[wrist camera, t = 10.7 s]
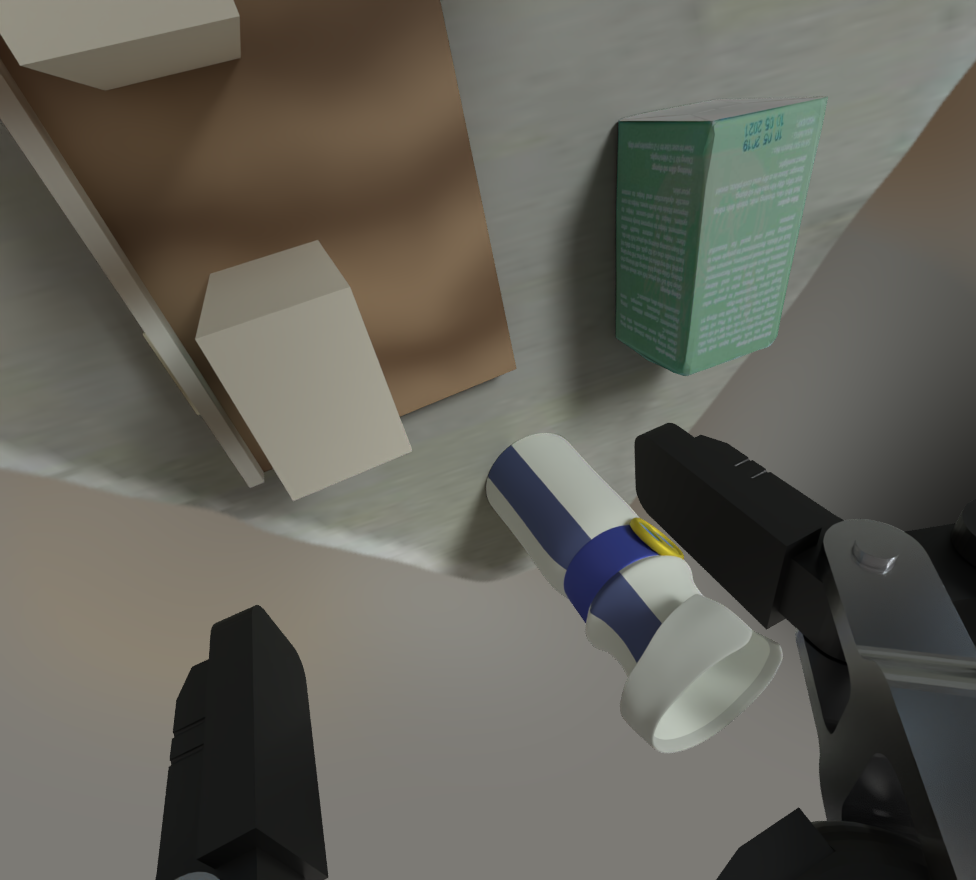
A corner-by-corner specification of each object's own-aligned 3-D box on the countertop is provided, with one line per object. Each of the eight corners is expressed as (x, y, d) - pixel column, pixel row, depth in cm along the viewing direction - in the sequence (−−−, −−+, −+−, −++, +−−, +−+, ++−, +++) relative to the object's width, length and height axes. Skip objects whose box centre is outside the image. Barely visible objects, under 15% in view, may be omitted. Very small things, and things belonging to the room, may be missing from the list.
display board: (-149, -133, 15) (-207, -173, 13) (382, -210, 19) (398, -250, 17) (245, 465, 29) (245, 489, 27) (506, 360, 33) (523, 374, 31)
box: (612, 344, 35) (687, 385, 30) (611, 119, 28) (711, 116, 22) (696, 315, 37) (782, 349, 31) (716, 97, 30) (835, 88, 24)
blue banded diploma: (524, 408, 35) (884, 761, 15) (598, 451, 40) (940, 761, 20) (458, 498, 37) (706, 920, 17) (536, 529, 42) (798, 884, 22)
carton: (206, 274, 23) (190, 340, 15) (317, 239, 24) (350, 286, 16) (277, 403, 27) (289, 502, 20) (369, 369, 28) (412, 451, 21)
